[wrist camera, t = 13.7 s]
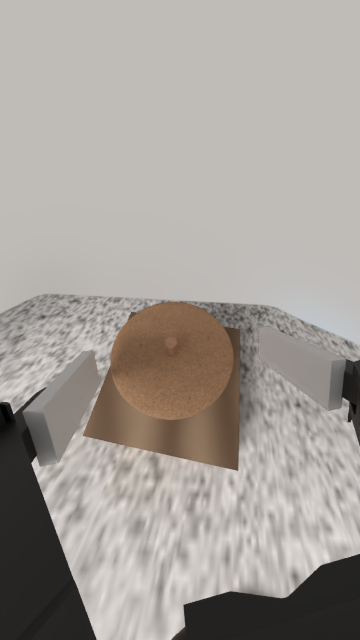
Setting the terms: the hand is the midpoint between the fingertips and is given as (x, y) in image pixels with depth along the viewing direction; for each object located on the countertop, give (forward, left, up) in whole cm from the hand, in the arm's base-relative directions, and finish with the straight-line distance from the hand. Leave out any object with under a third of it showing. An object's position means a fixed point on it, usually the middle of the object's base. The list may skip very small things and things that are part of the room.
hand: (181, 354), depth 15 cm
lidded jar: (-1, +1, -9) cm, 9 cm away
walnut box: (-1, +1, -15) cm, 15 cm away
